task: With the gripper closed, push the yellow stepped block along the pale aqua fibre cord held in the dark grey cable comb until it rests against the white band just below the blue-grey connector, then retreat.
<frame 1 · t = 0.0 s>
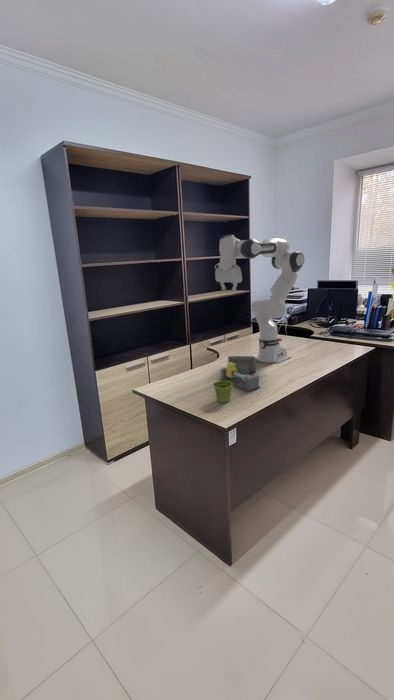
hand: (228, 290, 197), 48 cm above the table, fingers open, 8 cm apart
plant pot: (223, 401, 167), on the table
yellow stepped block: (231, 369, 191), point 6 cm above the table, slide at 0.0 cm
digital clock: (242, 373, 204), on the table
cable comb rail: (239, 384, 187), on the table
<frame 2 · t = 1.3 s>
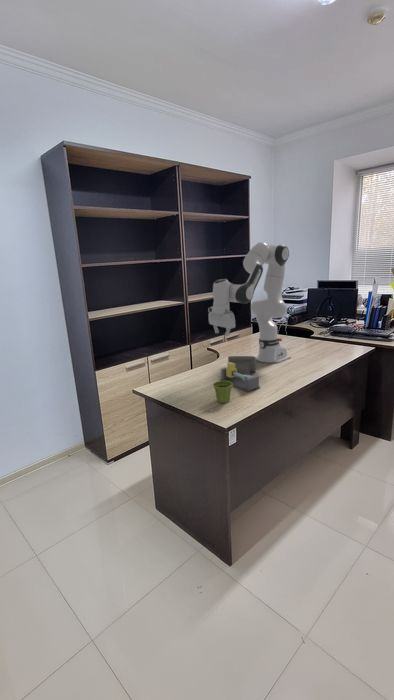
hand: (221, 334, 192), 25 cm above the table, fingers open, 8 cm apart
nothing on the table moved.
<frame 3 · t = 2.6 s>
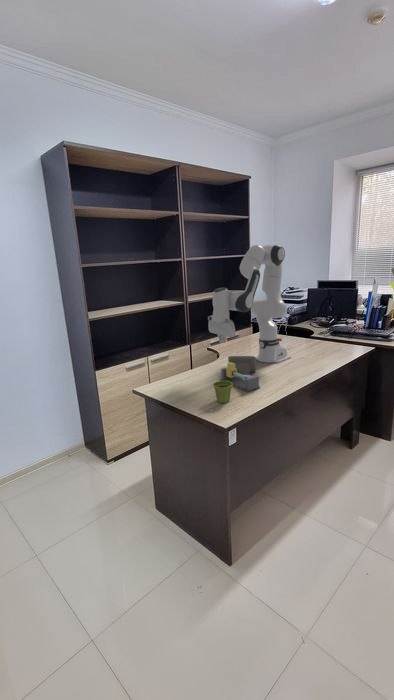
hand: (222, 342, 193), 21 cm above the table, fingers closed
nothing on the table moved.
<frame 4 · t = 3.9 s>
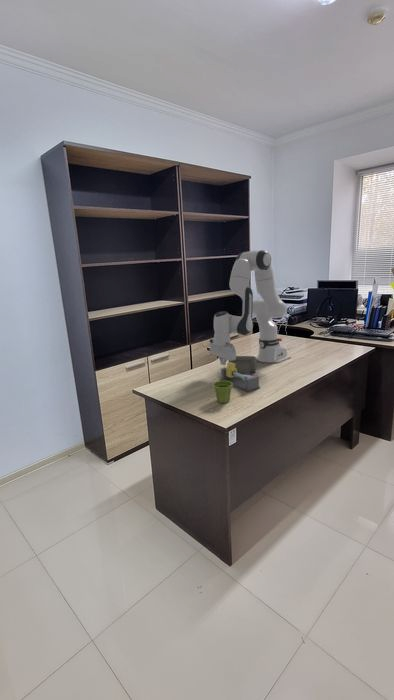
hand: (223, 364, 196), 8 cm above the table, fingers closed
nothing on the table moved.
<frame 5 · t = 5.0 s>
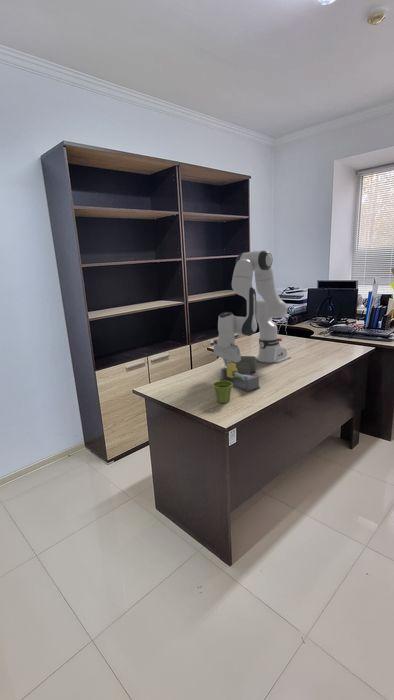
hand: (227, 366, 193), 8 cm above the table, fingers closed
yellow stepped block: (232, 369, 190), point 6 cm above the table, slide at 0.6 cm, touching gripper
everything else where it was.
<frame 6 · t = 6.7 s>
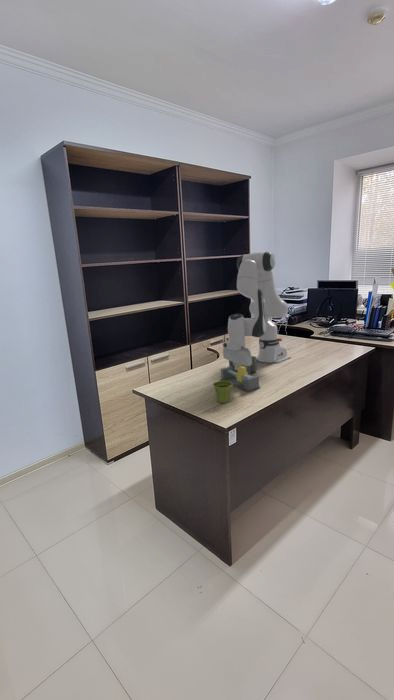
hand: (237, 370, 186), 8 cm above the table, fingers closed
yellow stepped block: (242, 373, 183), point 6 cm above the table, slide at 9.1 cm, touching cable comb rail, gripper
everything else where it was.
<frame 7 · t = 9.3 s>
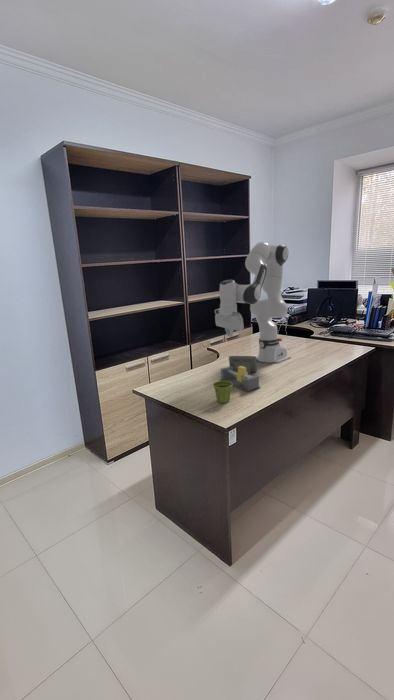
hand: (229, 336, 188), 25 cm above the table, fingers closed
yellow stepped block: (242, 373, 183), point 7 cm above the table, slide at 9.1 cm
everything else where it was.
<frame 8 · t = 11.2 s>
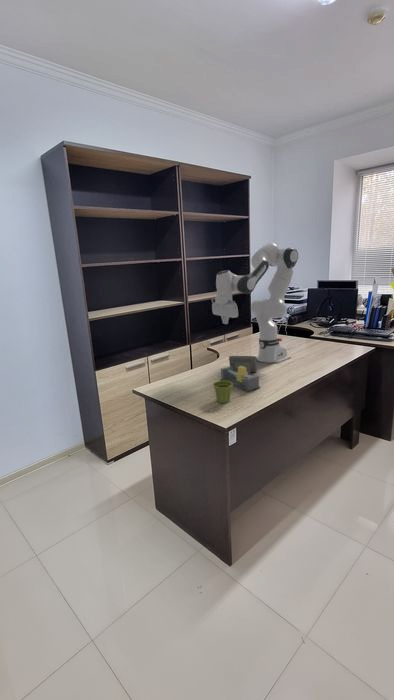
hand: (225, 323, 201), 29 cm above the table, fingers closed
nothing on the table moved.
at the end: yellow stepped block slide at 9.1 cm; the gripper is holding nothing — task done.
